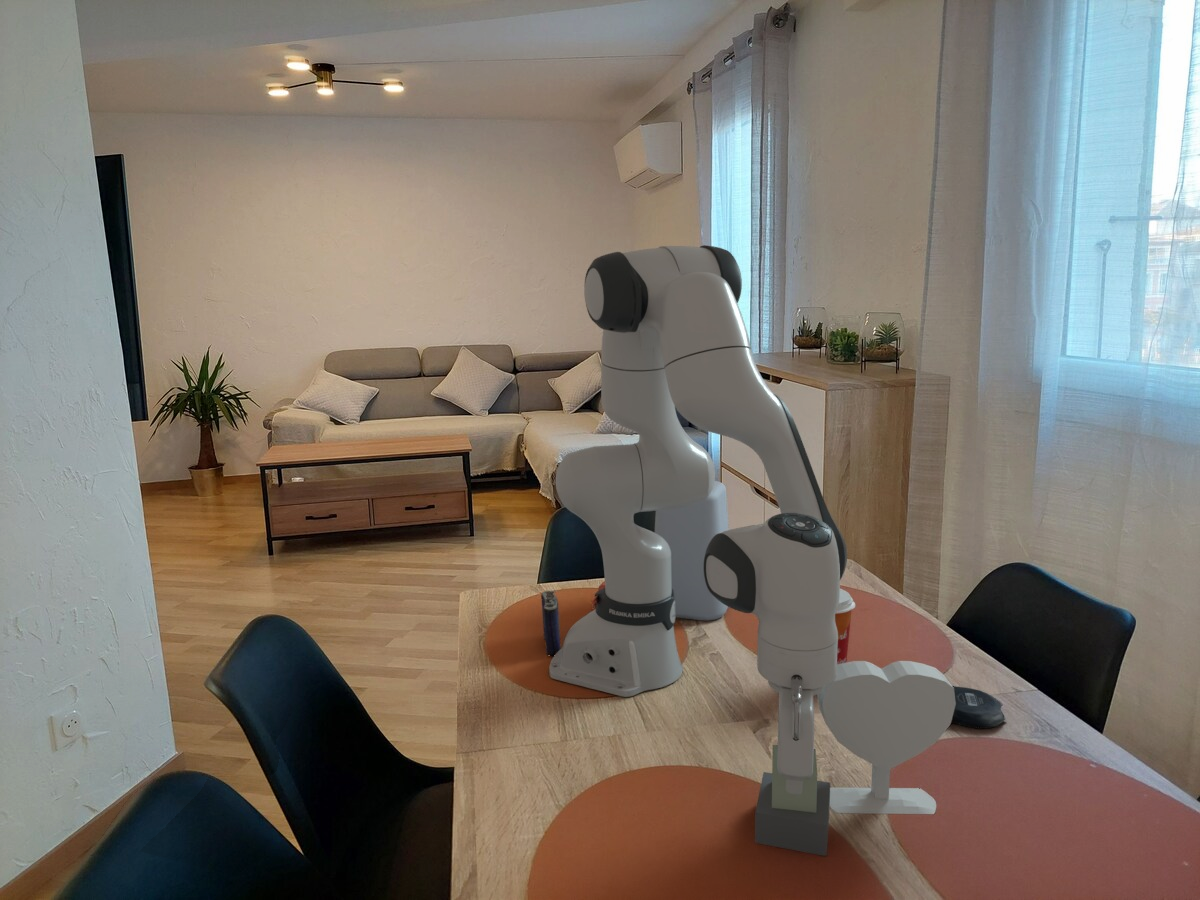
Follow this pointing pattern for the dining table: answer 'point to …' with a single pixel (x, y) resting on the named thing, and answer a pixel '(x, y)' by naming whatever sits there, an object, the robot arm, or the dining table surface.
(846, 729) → the heart sculpture
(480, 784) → the dining table surface
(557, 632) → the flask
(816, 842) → the charcoal block
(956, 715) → the black rounded flattened block
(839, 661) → the coffee cup
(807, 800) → the green cube
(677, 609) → the grey-blue container
